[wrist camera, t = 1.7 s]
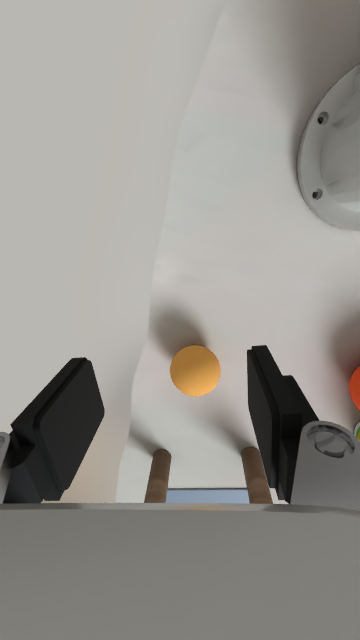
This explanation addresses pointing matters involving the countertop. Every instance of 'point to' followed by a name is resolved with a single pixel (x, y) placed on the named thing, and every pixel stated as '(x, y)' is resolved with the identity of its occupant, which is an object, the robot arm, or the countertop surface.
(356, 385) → the tomato
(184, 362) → the ball
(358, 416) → the countertop surface
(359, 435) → the supplement bottle
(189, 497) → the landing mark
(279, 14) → the countertop surface
